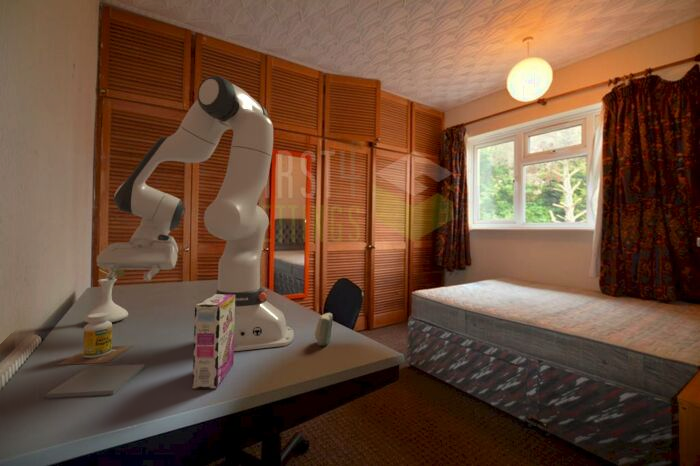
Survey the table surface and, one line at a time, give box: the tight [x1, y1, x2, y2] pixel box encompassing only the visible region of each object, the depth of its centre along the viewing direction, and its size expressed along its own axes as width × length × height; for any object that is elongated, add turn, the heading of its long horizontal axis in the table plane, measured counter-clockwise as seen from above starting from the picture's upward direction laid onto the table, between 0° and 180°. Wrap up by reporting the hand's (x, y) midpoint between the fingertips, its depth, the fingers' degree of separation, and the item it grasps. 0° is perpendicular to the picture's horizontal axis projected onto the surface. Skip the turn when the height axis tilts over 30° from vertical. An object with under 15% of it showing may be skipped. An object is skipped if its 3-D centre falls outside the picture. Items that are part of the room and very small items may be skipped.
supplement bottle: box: [83, 313, 113, 358], centre depth 74 cm, size 5×5×10 cm
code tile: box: [58, 345, 133, 366], centre depth 74 cm, size 10×10×1 cm
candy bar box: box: [192, 293, 236, 390], centre depth 64 cm, size 11×5×16 cm, turn 5°
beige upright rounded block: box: [314, 312, 334, 348], centre depth 83 cm, size 6×5×8 cm
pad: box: [45, 363, 146, 399], centre depth 61 cm, size 11×11×1 cm
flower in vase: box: [83, 248, 129, 324], centre depth 99 cm, size 13×11×25 cm
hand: (128, 279), depth 86 cm, fingers open, 8 cm apart
